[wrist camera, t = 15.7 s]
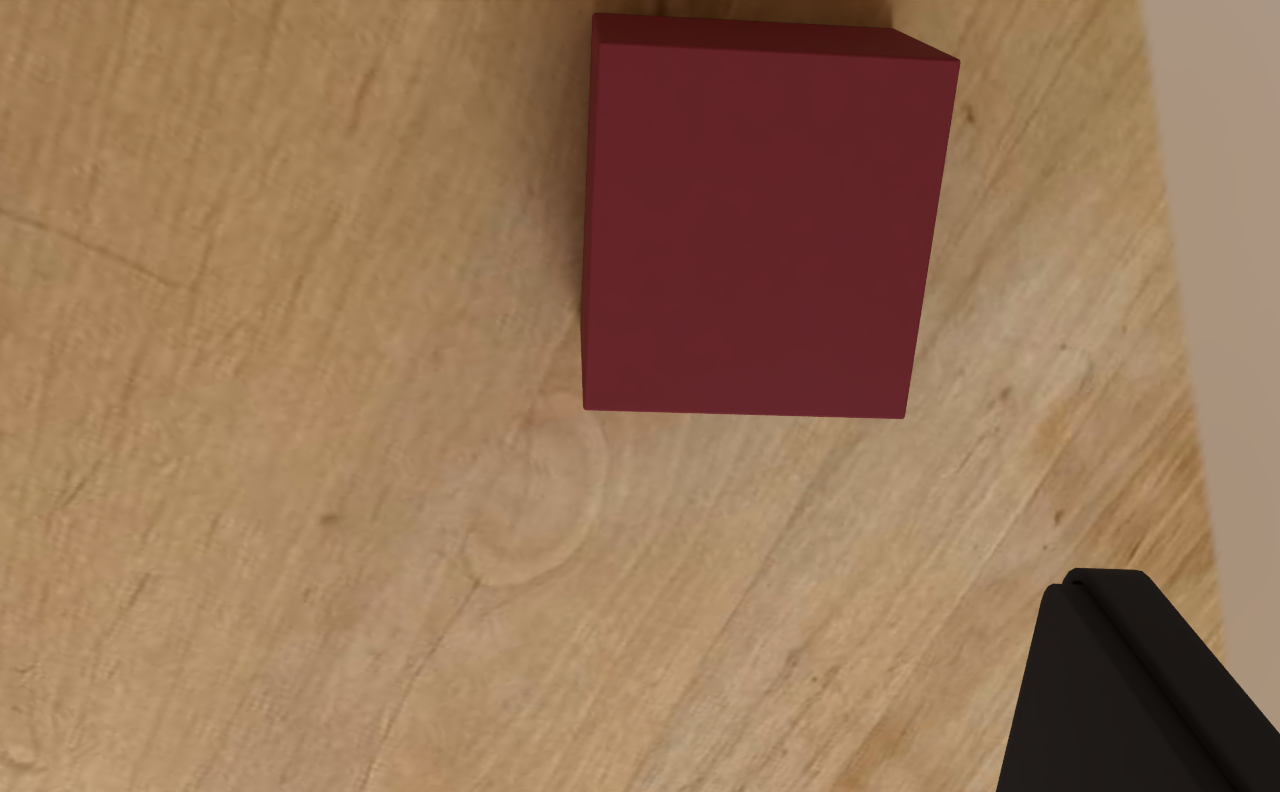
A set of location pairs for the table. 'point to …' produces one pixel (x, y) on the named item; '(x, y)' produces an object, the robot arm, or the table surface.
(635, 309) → the dark red block
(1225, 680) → the robot arm
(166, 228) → the table surface
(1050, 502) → the table surface
